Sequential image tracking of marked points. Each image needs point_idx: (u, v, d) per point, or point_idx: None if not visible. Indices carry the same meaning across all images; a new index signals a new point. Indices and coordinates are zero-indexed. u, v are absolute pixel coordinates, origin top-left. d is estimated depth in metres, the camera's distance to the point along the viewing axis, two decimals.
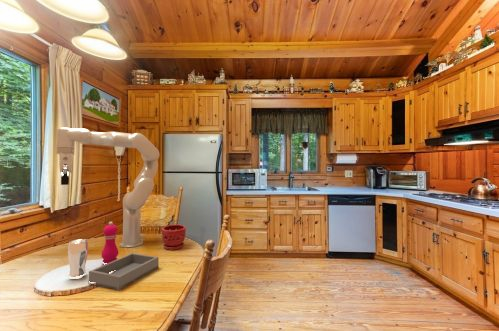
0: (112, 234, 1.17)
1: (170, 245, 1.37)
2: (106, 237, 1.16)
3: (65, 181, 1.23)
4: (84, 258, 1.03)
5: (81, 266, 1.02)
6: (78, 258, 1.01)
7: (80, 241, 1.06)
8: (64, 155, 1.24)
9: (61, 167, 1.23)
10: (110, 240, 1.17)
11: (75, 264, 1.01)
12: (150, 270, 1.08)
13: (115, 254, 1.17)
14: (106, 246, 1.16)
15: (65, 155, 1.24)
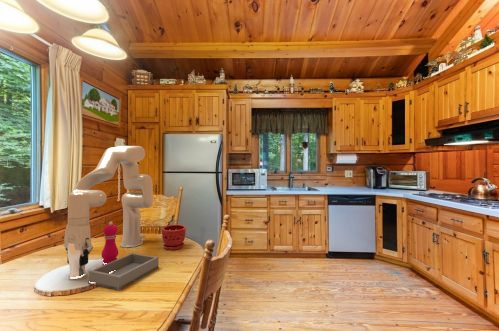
0: (112, 234, 1.17)
1: (170, 245, 1.37)
2: (106, 237, 1.16)
3: None
4: None
5: None
6: (78, 258, 1.01)
7: None
8: None
9: None
10: (110, 240, 1.17)
11: (75, 264, 1.00)
12: (150, 270, 1.08)
13: (115, 254, 1.17)
14: (106, 246, 1.16)
15: None
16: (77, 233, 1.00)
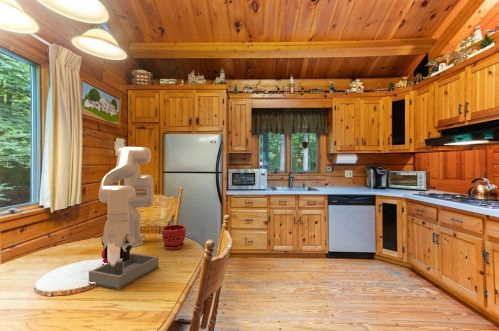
0: None
1: (170, 245, 1.37)
2: None
3: None
4: None
5: (121, 266, 1.00)
6: (118, 259, 0.98)
7: None
8: None
9: None
10: None
11: (114, 265, 0.98)
12: (150, 270, 1.08)
13: None
14: None
15: None
16: (117, 229, 0.97)
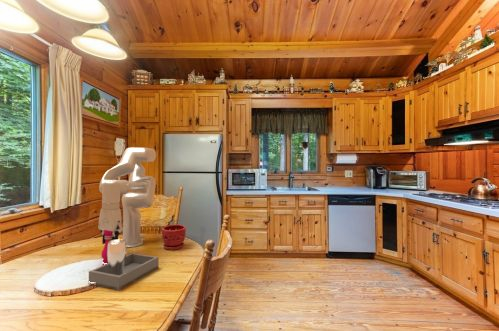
0: (112, 234, 1.17)
1: (170, 245, 1.37)
2: (106, 237, 1.16)
3: None
4: (123, 259, 1.00)
5: (121, 266, 1.00)
6: (118, 259, 0.98)
7: (118, 241, 1.04)
8: None
9: None
10: (110, 240, 1.17)
11: (115, 265, 0.98)
12: (150, 270, 1.08)
13: None
14: (106, 246, 1.16)
15: None
16: (110, 216, 1.15)
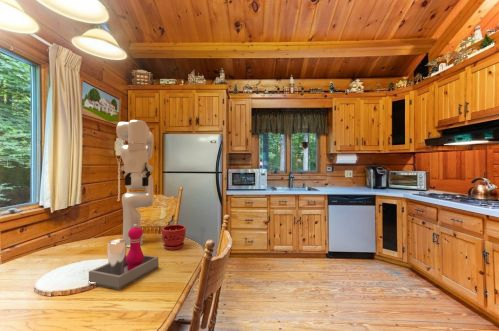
0: (137, 237, 1.09)
1: (170, 245, 1.37)
2: (131, 241, 1.08)
3: None
4: (123, 259, 1.00)
5: (121, 266, 1.00)
6: (118, 259, 0.98)
7: (118, 241, 1.04)
8: None
9: None
10: (135, 244, 1.08)
11: (115, 265, 0.98)
12: (150, 270, 1.08)
13: (141, 259, 1.09)
14: (131, 250, 1.08)
15: None
16: (138, 157, 1.07)
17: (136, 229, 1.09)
